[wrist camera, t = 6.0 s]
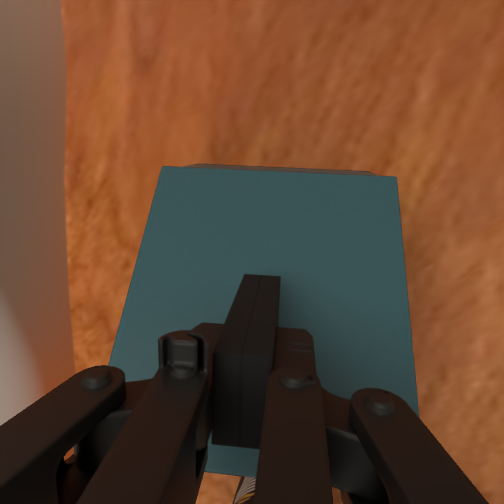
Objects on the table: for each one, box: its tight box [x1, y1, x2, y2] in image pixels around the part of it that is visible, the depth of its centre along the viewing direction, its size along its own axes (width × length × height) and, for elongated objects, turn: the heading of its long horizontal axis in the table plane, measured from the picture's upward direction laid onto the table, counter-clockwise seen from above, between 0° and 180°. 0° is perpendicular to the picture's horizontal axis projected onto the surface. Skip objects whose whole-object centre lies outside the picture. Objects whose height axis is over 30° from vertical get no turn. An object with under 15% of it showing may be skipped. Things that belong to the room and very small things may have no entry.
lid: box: [108, 166, 419, 478], centre depth 19 cm, size 14×13×1 cm
